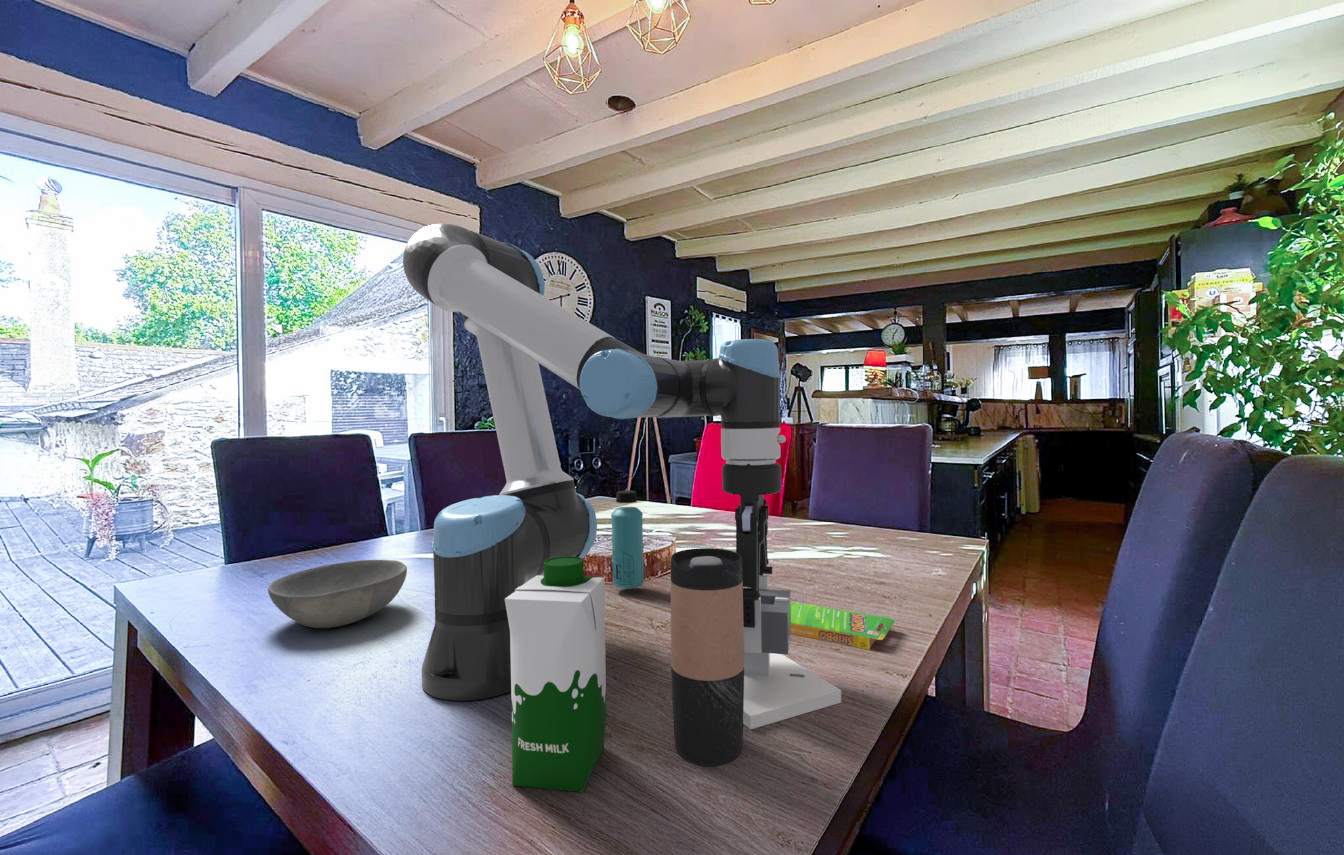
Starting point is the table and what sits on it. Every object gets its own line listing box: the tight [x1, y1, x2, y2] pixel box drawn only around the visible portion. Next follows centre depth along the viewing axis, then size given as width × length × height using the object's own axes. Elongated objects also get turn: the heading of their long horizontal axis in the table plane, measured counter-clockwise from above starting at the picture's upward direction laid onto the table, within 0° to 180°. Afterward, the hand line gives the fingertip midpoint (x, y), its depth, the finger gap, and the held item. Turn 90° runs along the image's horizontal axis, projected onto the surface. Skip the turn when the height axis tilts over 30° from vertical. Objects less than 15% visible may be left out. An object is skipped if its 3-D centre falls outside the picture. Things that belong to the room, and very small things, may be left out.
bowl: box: [267, 559, 408, 629], centre depth 100 cm, size 21×21×8 cm
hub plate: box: [743, 652, 842, 730], centre depth 74 cm, size 13×18×10 cm
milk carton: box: [505, 556, 607, 793], centre depth 57 cm, size 9×9×20 cm
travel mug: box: [670, 547, 744, 767], centre depth 60 cm, size 8×8×20 cm
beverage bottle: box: [610, 490, 646, 589], centre depth 113 cm, size 6×7×20 cm
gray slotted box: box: [759, 588, 792, 655], centre depth 74 cm, size 9×9×5 cm
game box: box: [790, 601, 895, 650], centre depth 93 cm, size 3×10×20 cm
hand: (754, 636), depth 74 cm, fingers closed on gray slotted box, 9 cm apart
